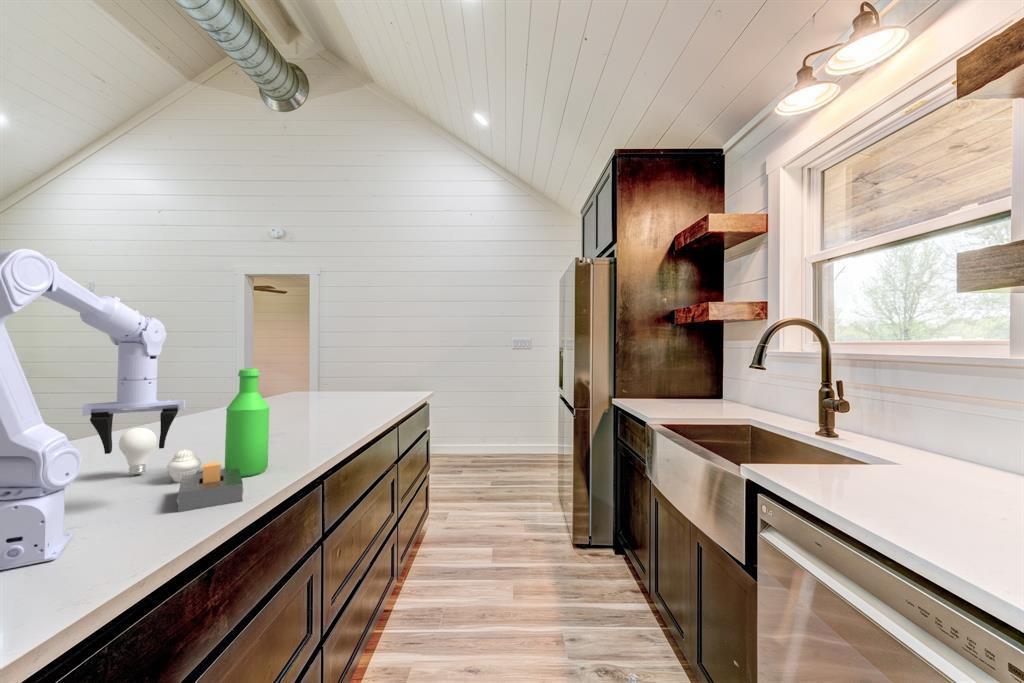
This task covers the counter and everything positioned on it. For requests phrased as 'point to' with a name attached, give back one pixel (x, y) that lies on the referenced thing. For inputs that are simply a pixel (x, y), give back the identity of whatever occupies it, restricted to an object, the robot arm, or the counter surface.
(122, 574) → the counter surface
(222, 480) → the grey slotted block
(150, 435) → the light bulb
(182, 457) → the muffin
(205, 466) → the orange rectangular block
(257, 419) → the bottle
